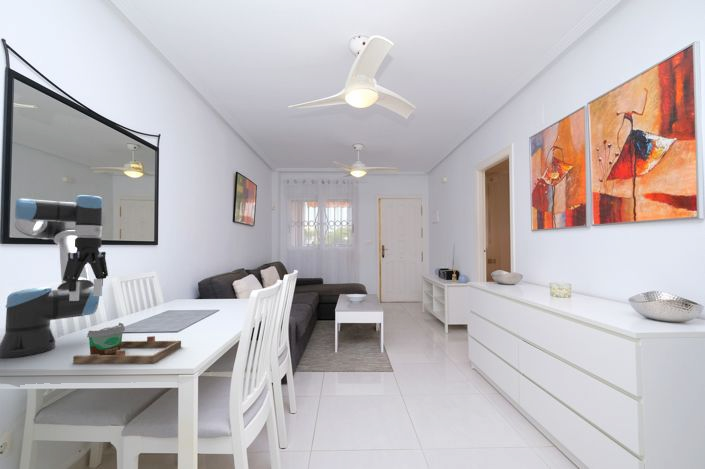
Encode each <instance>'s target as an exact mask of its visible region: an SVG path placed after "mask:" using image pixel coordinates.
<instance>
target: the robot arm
mask: <svg viewBox="0 0 705 469" xmlns="http://www.w3.org/2000/svg"><path fill="white" fill-rule="evenodd" d="M14 206H15V207H14V218H15V220H14V226H15V229H16V230H17V231H18V232H19V233H21V234H22V235H25V236H28V237H31V238H35V239H42V240H53V242H54V244H56V245H58V249H59V250H58V252H59V264H60V277H61V284H59V285H58V287H56V289H53V288H52V287H51V286H42V287H33V288H28V289H22V290H19V291H18V290H17V291H14V292H11V293H10V294H8V296H7V298H6V305H5V308H6V312H5V313H6V314H5V330H4V332H5V333H4V335H3V338H2V339H1V341H0V358H1V357H3V358H1V359H5V358H6V359H11V358H12V359H13V358H20V357H27V356H31V355H32V356H33V355H37V354H40V353H44V352H47V351H50V350H52V349H54V348H56V339H55V336H54V334H53V332H52V329H51V321H54V320H61V319H70V318H78V317H85V316H90V315H94V314H95V313H96V312H97V310H98V308H99V307H98V306H99V302H100V297H102V296H103V287H104V279H106V278H107V277H108V276H109V272H108V267H107V260H106V254H107V253H106V251H100V248H102V238H101V237H102V229H103V228H102V227H103V210H104V209H103V207H104V204H103V198H102V197H101V196H98V195H97V196H96V195H89V194H80V195H79V194H78V195H77V196H76V202H71V201H68V202H67V201H55V200H43V199H33V198H17V199H16V200H15V205H14ZM88 264H89V265H90V267H91V269H92V272H93V274H94V276H95V278H94V279H93V281H92V280H90V279H89V273H88V267H87V266H88Z"/></svg>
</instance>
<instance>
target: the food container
mask: <svg viewBox="0 0 705 469" xmlns="http://www.w3.org/2000/svg"><path fill="white" fill-rule="evenodd" d="M125 330H126V327H125V325H124V323H121V322H119V323H118V325H114V326H110V327H104V328H102V329H99V330H88V333H87V335H86V337H87V338H88V340H89V342H88V343H89V355H116V351H117V350H122V348H121V342H122V341H123V340H122V339H123V332H125Z"/></svg>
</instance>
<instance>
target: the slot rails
mask: <svg viewBox="0 0 705 469" xmlns="http://www.w3.org/2000/svg"><path fill="white" fill-rule="evenodd" d="M181 347H182V340H156V336H155V335H152V336H151V335H148V336H147V337H146V340H122V342H121V349H120V350H117V351H116V355H90V354H88V355H87V354H83V355H82V354H81V355H79V354H77V355H74V356H72V364H73V365H74V364H77V365H78V364H79V365H80V364H81V365H82V364H88V365H89V364H90V365H91V364H155V363H157V362H158V361H161V360H162V359H164V358H165V357H167V356H168V355H170V354H172V353H173V352H175V351H176V350H178V349H179V348H181ZM130 348H131V349H138V348H139V349H147V348H148V349H152V348H153V349H158V348H159V349H160V348H161V349H162V350H159V351H158V352H156V353H154V354H135V355H134V354H128V355H126V349H130Z"/></svg>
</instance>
